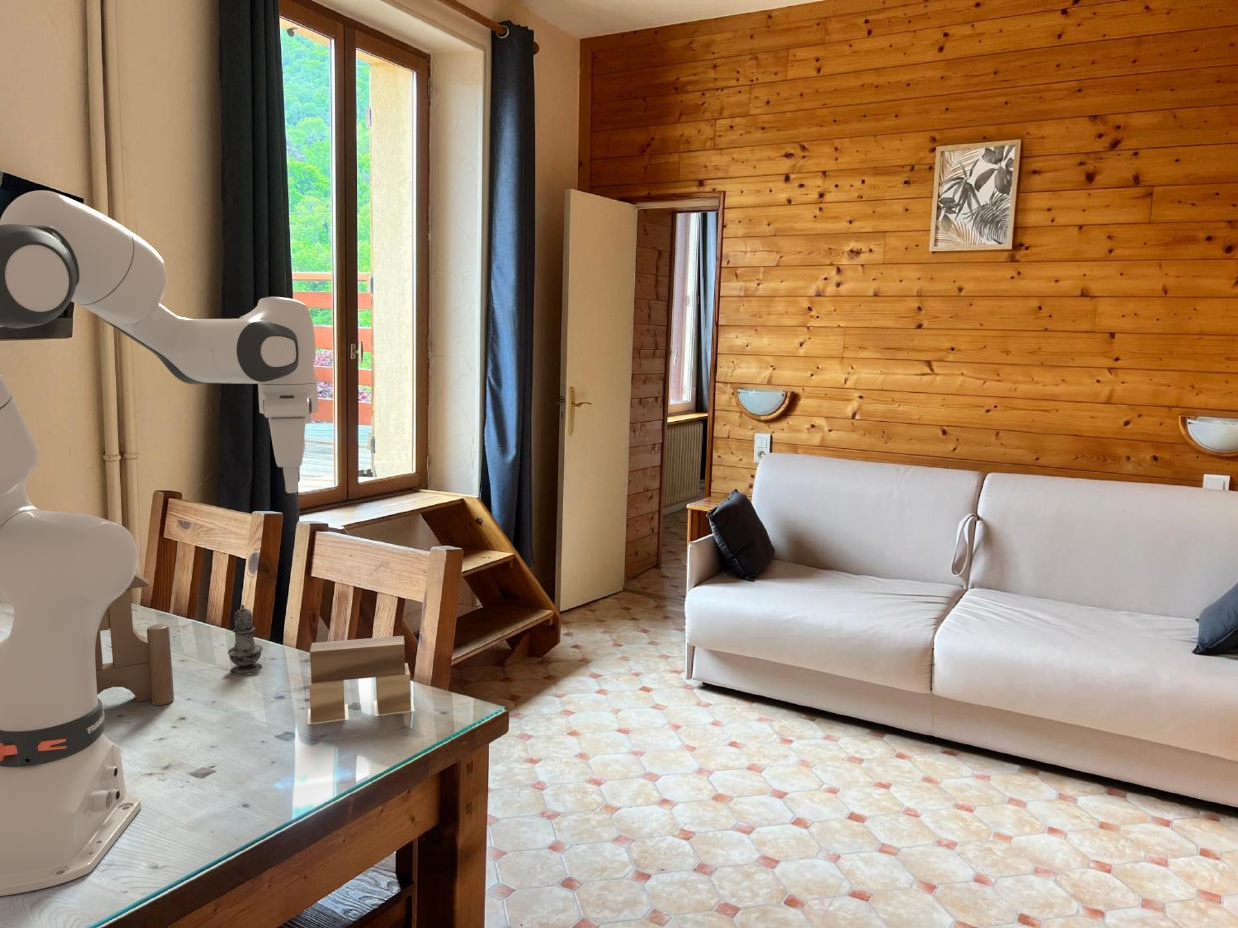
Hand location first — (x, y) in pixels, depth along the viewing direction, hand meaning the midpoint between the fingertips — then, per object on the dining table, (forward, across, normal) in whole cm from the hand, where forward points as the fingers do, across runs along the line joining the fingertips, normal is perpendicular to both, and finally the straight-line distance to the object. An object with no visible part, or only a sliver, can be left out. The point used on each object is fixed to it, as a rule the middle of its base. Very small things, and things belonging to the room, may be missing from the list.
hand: (293, 487), depth 143 cm
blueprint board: (+35, +11, +9) cm, 38 cm away
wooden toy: (+35, -4, -28) cm, 45 cm away
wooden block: (+28, +11, +9) cm, 32 cm away
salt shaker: (+35, -15, -10) cm, 40 cm away
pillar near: (+34, +11, +4) cm, 36 cm away
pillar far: (+34, +11, +14) cm, 39 cm away
